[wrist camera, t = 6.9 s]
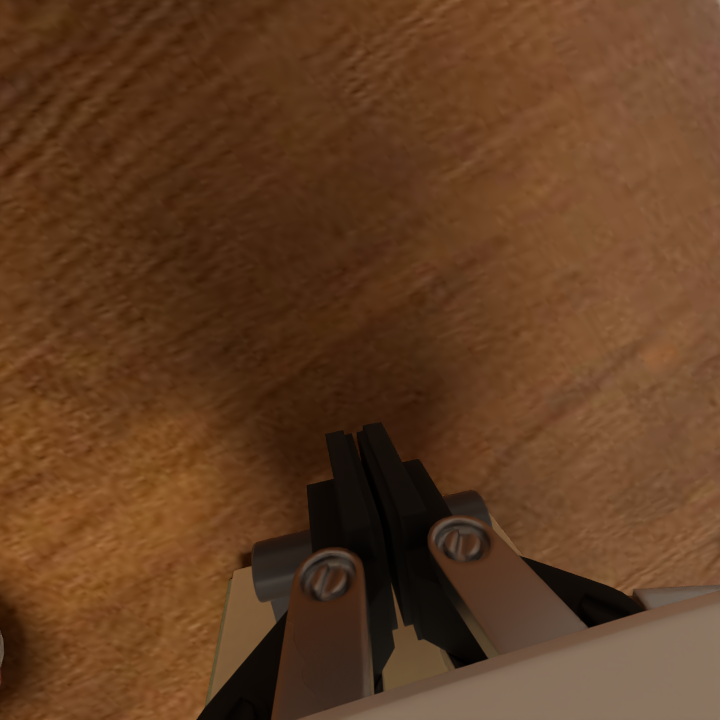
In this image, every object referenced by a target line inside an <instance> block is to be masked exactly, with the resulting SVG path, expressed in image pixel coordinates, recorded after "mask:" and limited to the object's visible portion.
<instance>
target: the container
mask: <svg viewBox="0 0 720 720" xmlns="http://www.w3.org/2000/svg"><path fill="white" fill-rule="evenodd" d="M3 656H4V643H3V637H2V634H1V631H0V668H1V665H2V660H3ZM0 685H1V670H0Z"/></svg>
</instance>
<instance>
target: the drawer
mask: <svg viewBox="0 0 720 720" xmlns="http://www.w3.org/2000/svg"><path fill="white" fill-rule="evenodd" d="M442 498H443V499H444V501H445V503H446V504H447V506H448V508H449V509H450V511H451V513H452V514H453V515H466V516H471V517H475V518H477V519H480V520H482V521H484V522H485V523H486V524H488V525H489V526H490V527H492V528H493V529H494V531H495V532H496V533H497V534H498V535H499V536H500V537H501V538H502V539H503V540H504V541H505V542H506V543H507V544H508V545H509V546H510V547H511V548H512V549H513V550H514V551H515V552H516V553H517V554H518V555H519V556H522V555H521V553H520V552H519V551H518V549H517V548H516V547H515V546H514V544H513V543H512V542H511V540H510V539H509V538H508V536H507V535H506V534H505V533H504V531H503V530H502V529H501V527H500V526H499V525H498V523H497V522H496V521H495V520H494V518H493V517H492V516H491V514H490V513H489V512H488V509H487V507H486V505H485V503H484V501H483V499H482V498H481V496H480V495H479V494H478V493H477V492H476V491H474V490H469V491H465V492H461V493H456V494H452V495H448V496H444V497H442ZM311 554H312V544H311V532H310V529H308V530H304V531H300V532H296V533H292V534H288V535H284V536H280V537H276V538H271V539H267V540H263V541H259V542H256V543H255V544H254V546H253V549H252V558H251V566H250V567H246V568H242V569H238V570H235V571H234V572H233V577H232V583H231V588H230V594H229V599H228V604H227V610H226V615H225V621H224V626H223V631H222V637H221V642H220V648H219V653H218V658H217V664H216V669H215V675H214V680H213V685H212V691H211V696H210V701H211V700H212V698H213V697H214V696H215V695H216V694H217V692H218V691H219V690H220V689H221V688H222V687H223V685H224V684H225V683H226V682H227V681H228V679H229V678H230V677H231V676H232V675H233V674H234V672H235V671H236V670H237V669H238V668H239V666H240V665H241V664H242V663H243V662H244V661H245V659H246V658H247V657H248V656H249V655H250V654H251V652H252V651H253V650H254V649H255V648H256V646H257V645H258V644H259V643H260V642H261V641H262V639H263V638H264V637H265V636H266V635H267V633H268V632H269V631H270V630H271V629H272V628H273V626H274V625H275V624H276V623H277V622H278V620H279V619H280V618H281V617H282V616H283V615H284V613H285V612H286V611H287V610H288V607H289V600H290V594H291V587H292V581H293V578H294V575H295V572H296V570H297V568H298V567H299V565H300V564H301V563H302V562H303V561H304V560H305V559H306V558H307V557H308V556H310V555H311ZM522 557H523V556H522ZM391 585H392V584H391ZM392 591H393V598H394V604H395V610H396V616H397V623H398V629H396V630H393V631H392V632H393V638H394V644H395V649H394V651H393V652H392V654H391V656H390V658H389V660H388V661H387V663H386V665H385V667H384V669H383V674H384V679H385V690H386V691H388V690H391V689H394V688H397V687H400V686H403V685H407V684H410V683H413V682H416V681H419V680H423V679H426V678H429V677H432V676H435V675H439V674H442V673H445V672H448V669H447V667H446V665H445V663H444V661H443V659H442V656H441V653H440V648H439V647H437V646H435V645H434V644H432V643H430V642H428V641H426V640H424V639H422V640H419V641H418V639H417V636H416V633H415V629H414V626H413V625H409V626H406V627H405V626H404V623H403V620H402V617H401V613H400V610H399V607H398V604H397V600H396V597H395V594H394V590H393V587H392ZM210 701H209V702H210Z"/></svg>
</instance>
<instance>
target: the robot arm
mask: <svg viewBox="0 0 720 720" xmlns="http://www.w3.org/2000/svg"><path fill="white" fill-rule="evenodd" d="M325 437H326V442H327V447H328V452H329V457H330V462H331V467H332V472H333V477H334V479H331V480H327V481H323V482H319V483H314V484H310V485H307V497H308V509H309V520H310V532H311V544H312V554H311V555H310V556H308V557H307V558H306V559H305V560H304V561H303V562H302V563H301V564H300V565H299V567H298V568H297V570H296V572H295V575H294V578H293V581H292V587H291V594H290V600H289V607H288V610H287V611H286V612H285V613H284V615H283V616H282V617H281V618H280V619H279V620H278V622H277V623H276V624H275V625H274V626H273V628H272V629H271V630H270V631H269V632H268V633H267V635H266V636H265V637H264V638H263V639H262V641H261V642H260V643H259V644H258V645H257V646H256V648H255V649H254V650H253V651H252V652H251V654H250V655H249V656H248V657H247V658H246V659H245V661H244V662H243V663H242V664H241V665H240V666H239V668H238V669H237V670H236V671H235V672H234V674H233V675H232V676H231V677H230V678H229V679H228V681H227V682H226V683H225V684H224V685H223V687H222V688H221V689H220V690H219V691H218V692H217V694H216V695H215V696H214V697H213V698H212V700H211V701H210V702H209V703H208V704H207V705H206V707H205V708H204V710H203V711H202V713H201V714H200V715H199V717H198V718H197V720H720V585H705V586H686V587H668V588H649V589H633V596H627V595H625V594H624V593H622V592H621V591H618V590H616V589H614V588H612V587H609V586H607V585H604V584H601V583H598V582H595V581H592V580H590V579H587V578H584V577H581V576H578V575H575V574H572V573H569V572H566V571H563V570H560V569H557V568H554V567H552V566H549V565H546V564H543V563H540V562H537V561H534V560H531V559H528V558H525V557H522V556H519V555H518V554H517V553H516V552H515V551H514V550H513V549H512V548H511V547H510V546H509V545H508V544H507V543H506V542H505V541H504V540H503V539H502V538H501V537H500V536H499V535H498V534H497V533H496V532H495V531H494V529H493V528H492V527H490V526H489V525H488V524H486V523H485V522H484V521H482V520H480V519H477V518H475V517H471V516H466V515H453V514H452V513H451V511H450V509H449V508H448V506H447V504H446V503H445V501H444V499H443V498H442V496H441V494H440V493H439V491H438V489H437V488H436V486H435V484H434V483H433V481H432V479H431V478H430V476H429V474H428V473H427V471H426V469H425V468H424V466H423V464H422V463H421V461H420V460H419V459H415V460H411V461H407V462H403V463H402V461H401V459H400V457H399V455H398V454H397V452H396V450H395V448H394V446H393V444H392V442H391V440H390V438H389V436H388V434H387V432H386V430H385V428H384V427H383V425H382V423H381V422H378V423H373V424H369V425H364V426H363V431H360V432H357V439H358V445H359V451H360V457H361V460H360V457H359V454H358V451H357V448H356V445H355V442H354V439H353V436H352V434H347V435H345V434H344V431H343V430H342V431H337V432H333V433H328V434H325ZM391 584H392V585H391ZM392 587H393V590H394V594H395V597H396V600H397V604H398V607H399V610H400V613H401V617H402V620H403V623H404V626H405V627H406V626H409V625H413V626H414V629H415V633H416V636H417V639H418V641H419V640H422V639H424V640H426V641H428V642H430V643H432V644H434V645H435V646H437V647H439V648H440V653H441V656H442V659H443V661H444V663H445V665H446V667H447V669H448V672H445V673H442V674H439V675H435V676H432V677H429V678H426V679H423V680H419V681H416V682H413V683H410V684H407V685H403V686H400V687H397V688H394V689H391V690H388V691H386V690H385V679H384V674H383V669H384V667H385V665H386V663H387V661H388V660H389V658H390V656H391V654H392V652H393V651H394V649H395V644H394V638H393V632H392V631H393V630H396V629H398V623H397V616H396V610H395V604H394V598H393V591H392Z"/></svg>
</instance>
